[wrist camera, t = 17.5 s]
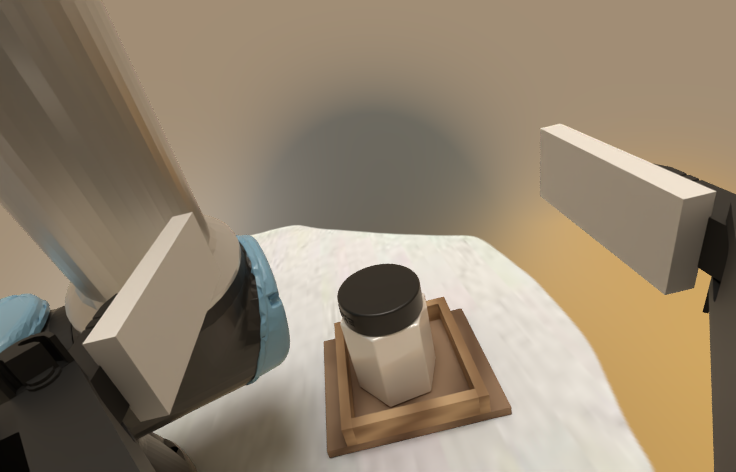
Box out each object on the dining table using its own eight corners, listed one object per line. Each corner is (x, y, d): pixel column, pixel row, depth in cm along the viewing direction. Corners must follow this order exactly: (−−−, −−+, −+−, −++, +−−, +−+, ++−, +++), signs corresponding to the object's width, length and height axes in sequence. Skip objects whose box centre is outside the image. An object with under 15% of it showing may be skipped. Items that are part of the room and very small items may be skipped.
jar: (372, 342, 50) (350, 261, 44) (439, 344, 48) (425, 259, 42) (352, 404, 43) (323, 318, 37) (430, 411, 40) (411, 319, 34)
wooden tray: (329, 457, 39) (320, 435, 38) (325, 347, 52) (318, 327, 51) (511, 413, 39) (510, 389, 38) (462, 314, 52) (459, 293, 51)
